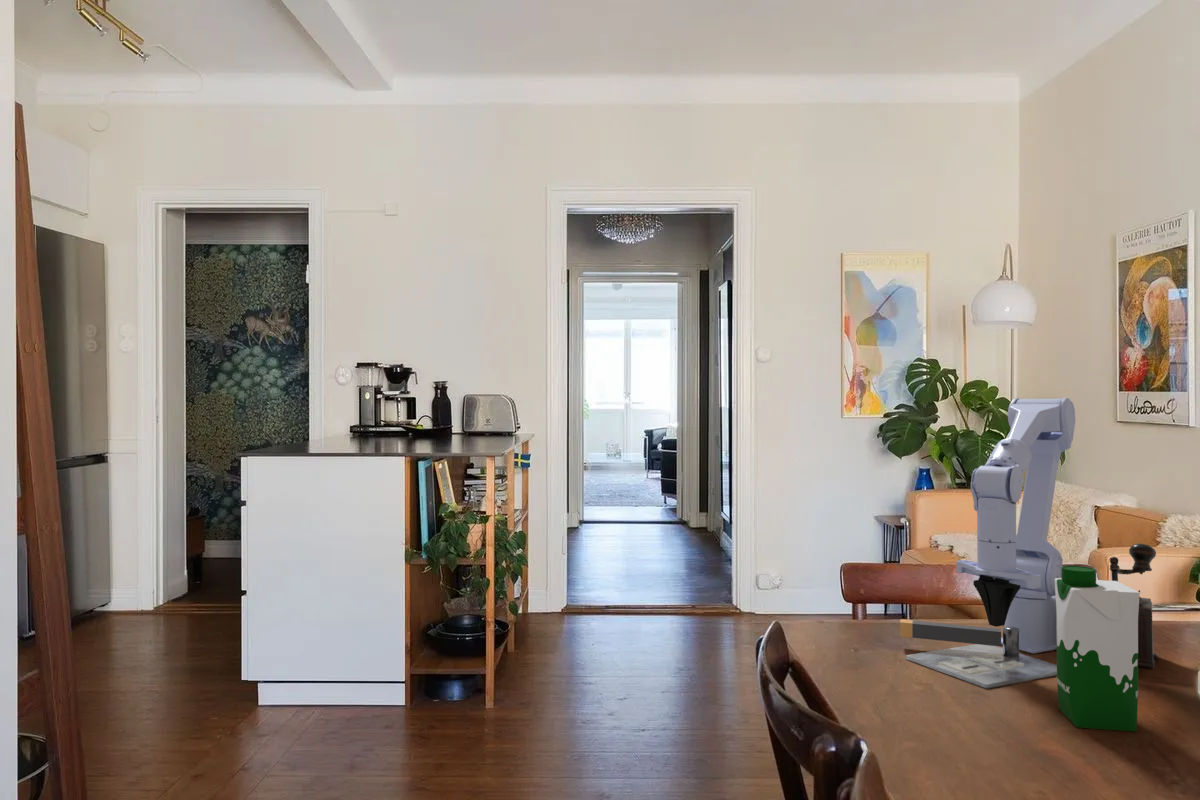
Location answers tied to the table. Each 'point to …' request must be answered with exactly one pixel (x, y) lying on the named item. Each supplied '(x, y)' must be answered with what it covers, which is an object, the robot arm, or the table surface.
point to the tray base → (987, 662)
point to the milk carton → (1097, 650)
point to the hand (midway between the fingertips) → (996, 625)
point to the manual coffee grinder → (1141, 603)
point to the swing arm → (950, 632)
